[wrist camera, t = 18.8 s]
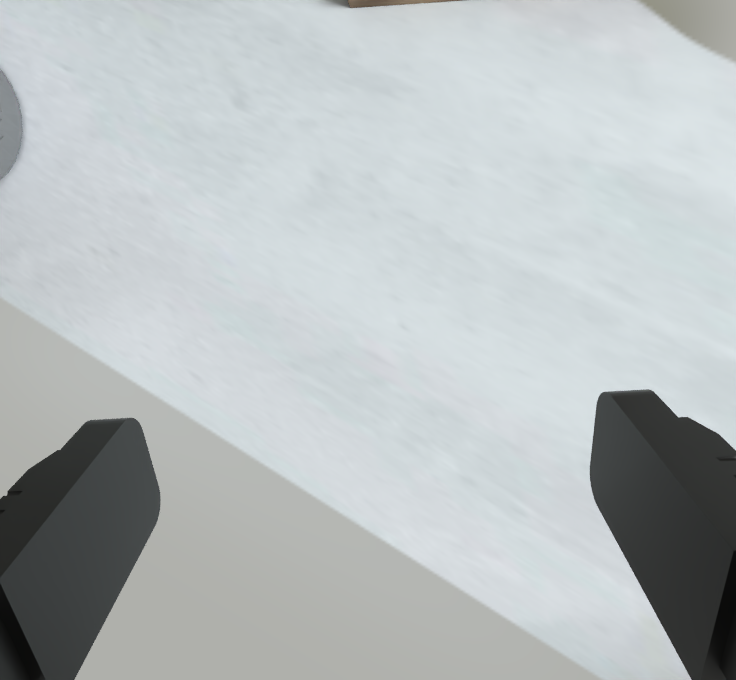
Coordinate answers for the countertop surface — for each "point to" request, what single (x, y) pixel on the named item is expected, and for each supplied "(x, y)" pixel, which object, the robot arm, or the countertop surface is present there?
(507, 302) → the countertop surface
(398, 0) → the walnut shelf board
